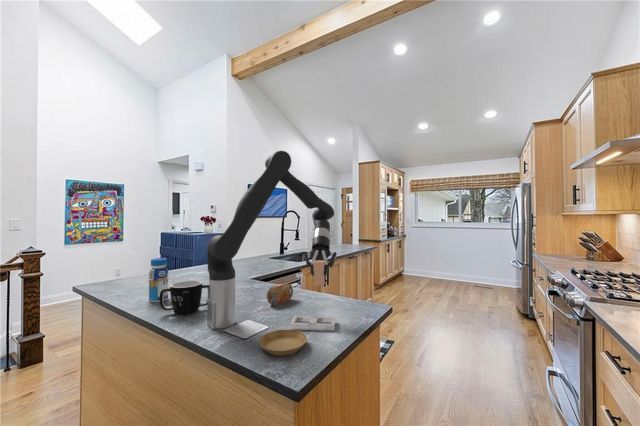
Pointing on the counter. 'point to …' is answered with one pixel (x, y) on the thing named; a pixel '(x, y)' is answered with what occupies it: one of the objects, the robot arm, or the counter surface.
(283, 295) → the tin
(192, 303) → the mug
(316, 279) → the peg
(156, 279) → the beverage bottle
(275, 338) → the plant saucer
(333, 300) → the counter surface
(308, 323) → the grey flat frame
